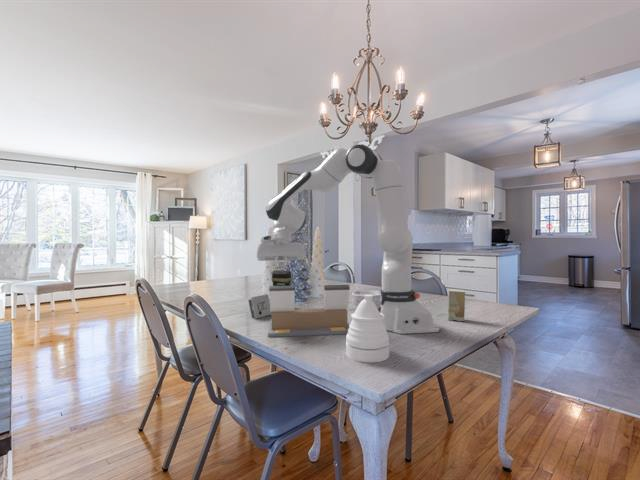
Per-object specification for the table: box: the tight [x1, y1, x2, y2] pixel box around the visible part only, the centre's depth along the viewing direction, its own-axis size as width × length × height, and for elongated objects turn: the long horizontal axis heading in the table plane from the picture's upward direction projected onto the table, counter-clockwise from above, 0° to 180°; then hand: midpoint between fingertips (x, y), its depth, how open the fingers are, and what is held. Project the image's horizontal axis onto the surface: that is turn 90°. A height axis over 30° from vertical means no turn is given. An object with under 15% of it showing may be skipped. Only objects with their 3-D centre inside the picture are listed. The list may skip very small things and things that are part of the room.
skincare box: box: [447, 288, 466, 322], centre depth 136 cm, size 6×4×12 cm
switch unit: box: [267, 307, 350, 338], centre depth 124 cm, size 30×14×7 cm, turn 96°
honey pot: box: [345, 295, 390, 363], centre depth 99 cm, size 13×13×18 cm
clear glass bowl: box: [351, 289, 381, 310], centre depth 156 cm, size 15×15×8 cm
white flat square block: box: [323, 284, 351, 310], centre depth 123 cm, size 9×2×9 cm, turn 96°
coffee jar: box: [271, 269, 293, 286], centre depth 159 cm, size 10×8×19 cm
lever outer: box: [268, 285, 296, 311], centre depth 122 cm, size 9×2×9 cm, turn 96°
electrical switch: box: [248, 294, 272, 320], centre depth 146 cm, size 9×5×9 cm, turn 141°
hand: (281, 266), depth 135 cm, fingers closed
